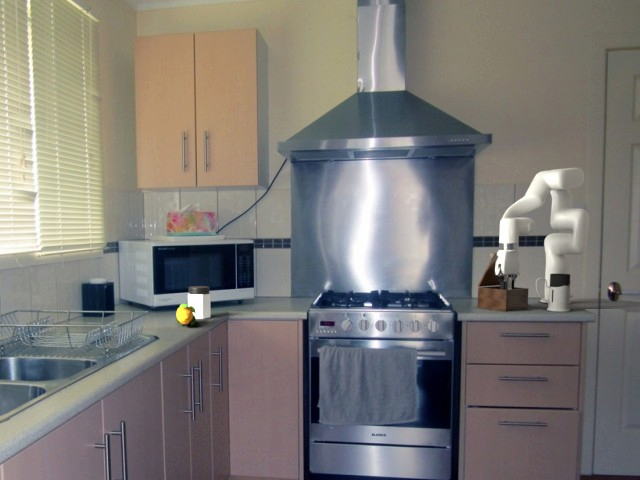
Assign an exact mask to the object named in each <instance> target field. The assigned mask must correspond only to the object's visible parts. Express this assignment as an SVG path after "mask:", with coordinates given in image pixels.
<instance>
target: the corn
mask: <svg viewBox="0 0 640 480" xmlns="http://www.w3.org/2000/svg"><path fill="white" fill-rule="evenodd" d="M193 312H194V313H195V314H196V310H195V308H194V307H193V306H192V305H191V306H190V307H189V306H188V303H181V304H180V305H179V307H178V308H177V310H176V314H175V316H176V319H175V320H176V322H177V323H178V324H179V325H180V326H184V325H189V324H190V326H191V327H192V326H193V325H194V324H195V322H196V320H197V319H196V318H195V315H193Z"/></svg>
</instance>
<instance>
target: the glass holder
mask: <svg viewBox="0 0 640 480" xmlns="http://www.w3.org/2000/svg"><path fill="white" fill-rule="evenodd" d="M540 279H543V280H544V283H545V282H546V287H547V281H546V279H545V277H542V276H540V277H538V278H536V281H535V289H536V293H537V294H538V296H539V297H540V298H541V299H544V296H542V295H541V293H540V291H539V289H538V282H539V280H540ZM547 288H549V302H548V301H547V300H545V299H544V300H545V301H546V302H547V303H546V304H547V306H548V307H547V308H546V311H550V312H565V313H566V312H570V311H571V308H570V304H571V303H570V300H571V298H570V293H571V274H570V273H568V274H550V286H549V287H547Z"/></svg>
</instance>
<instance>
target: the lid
mask: <svg viewBox="0 0 640 480" xmlns="http://www.w3.org/2000/svg"><path fill="white" fill-rule="evenodd" d="M489 256H490V258H491V259H490V261H489V263H488V265H487V267H486V269H485V270H484V272H483V274H482V276H481V278H480V280H479V282H478V284H477V288H478V287H491V286H500V282H499V279H498V277H497V276H496V275H495V274H496V273H495V264H496V259H497V257H498V255H497V252H491V253H490V254H489ZM503 277H504V276H503Z"/></svg>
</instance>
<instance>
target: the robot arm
mask: <svg viewBox="0 0 640 480" xmlns="http://www.w3.org/2000/svg"><path fill="white" fill-rule="evenodd" d="M533 177H534V178H533V179H532V180H531V182H530V185H529V187H528V188H527V190H526V191H525V194H524V195H523V196H522V197H521V198H520V199H518V200H517V201H515V202H514V203H513V204H511V205H510V206H509V207H508V208H507V209H506V210H505V212H504V213H503V215H502V217H501V219H500V220H499V237H498V238H499V239H498V250H497V252H496V253H497V255H498V257H497V259H496V264H495V273H496V274H495V275H496V276H497V277H498V279H499V282H500V285H499V286H500V289H503V290H507V282H506V280H507V277H510V278H513V279H512V283H511V287H512V289H514V287H515V282H516V280H517V278H518V276H520V251H519V240H520V237H519V236H529V235H532V234H533V233H534V231H535V229H536V222H535V220H533V219H532V218H530V217H521V216H523V215H525V214H527V213H531V212H533V211H535V210H538V209H539V208H542V207H543V205H544V204H545V203H546V200H547V198H548V196H549V194H550V196H551V209H550V220H549V223H550V227H551V229H552V230H555V231H572V232H552V233H550V234H548V235H546V237H545V238H544V242H543V247H544V253H545V271H544V272H545V274H544V278H545V279H546V281H547V287H549V286H550V274H570V270H569V269H570V263H569V260H568V258H567V257H566V255H570V256H571V255H573V256H575V255H576V256H577V255H582V254H583V253H584V252H585V251H586V249H587V245H588V238H589V228H590V215H589V212H588V211H587V210H586V209H584V208H580V207H579V208H577V207H576V208H573V207H574V205H573V203H574V196H573V194H572V193H571V191H570V189H575V188H579V187H580V186H582V185H583V184H584V181H585V172H584V171H583V170H582V169H581V168H580V167H569V168H568V167H567V168H556V169H555V168H554V169H550V170H541V171H539V172H537V173H536V174H535V176H533ZM503 276H504V277H503ZM547 287H546V282H545V281H544V292H543V293H544V294H543V295H544V296H543V298H544V299H545V300H547V301H548V302H549V288H547ZM573 297H574V294H573V293H571V292H570V303H569V304H571V303H572V300H571V298H573ZM544 299H542V298H541V299H540V303H542V304H543V303H544V304H548V303H547V302H546V301H545V300H544Z"/></svg>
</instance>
